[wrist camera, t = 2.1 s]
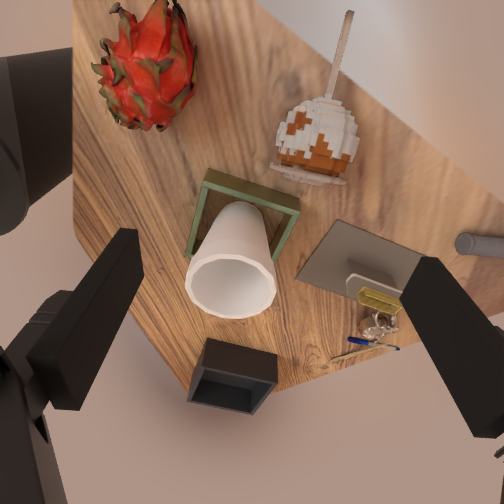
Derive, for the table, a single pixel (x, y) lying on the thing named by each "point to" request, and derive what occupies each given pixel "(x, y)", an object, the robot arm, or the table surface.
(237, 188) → the olive square frame
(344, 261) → the platform
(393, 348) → the ballpoint pen
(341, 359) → the tool
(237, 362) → the dark grey square tray
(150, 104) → the dragon fruit
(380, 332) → the ornament
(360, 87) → the table surface
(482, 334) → the robot arm
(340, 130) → the caramel apple
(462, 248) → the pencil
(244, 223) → the foam cup
